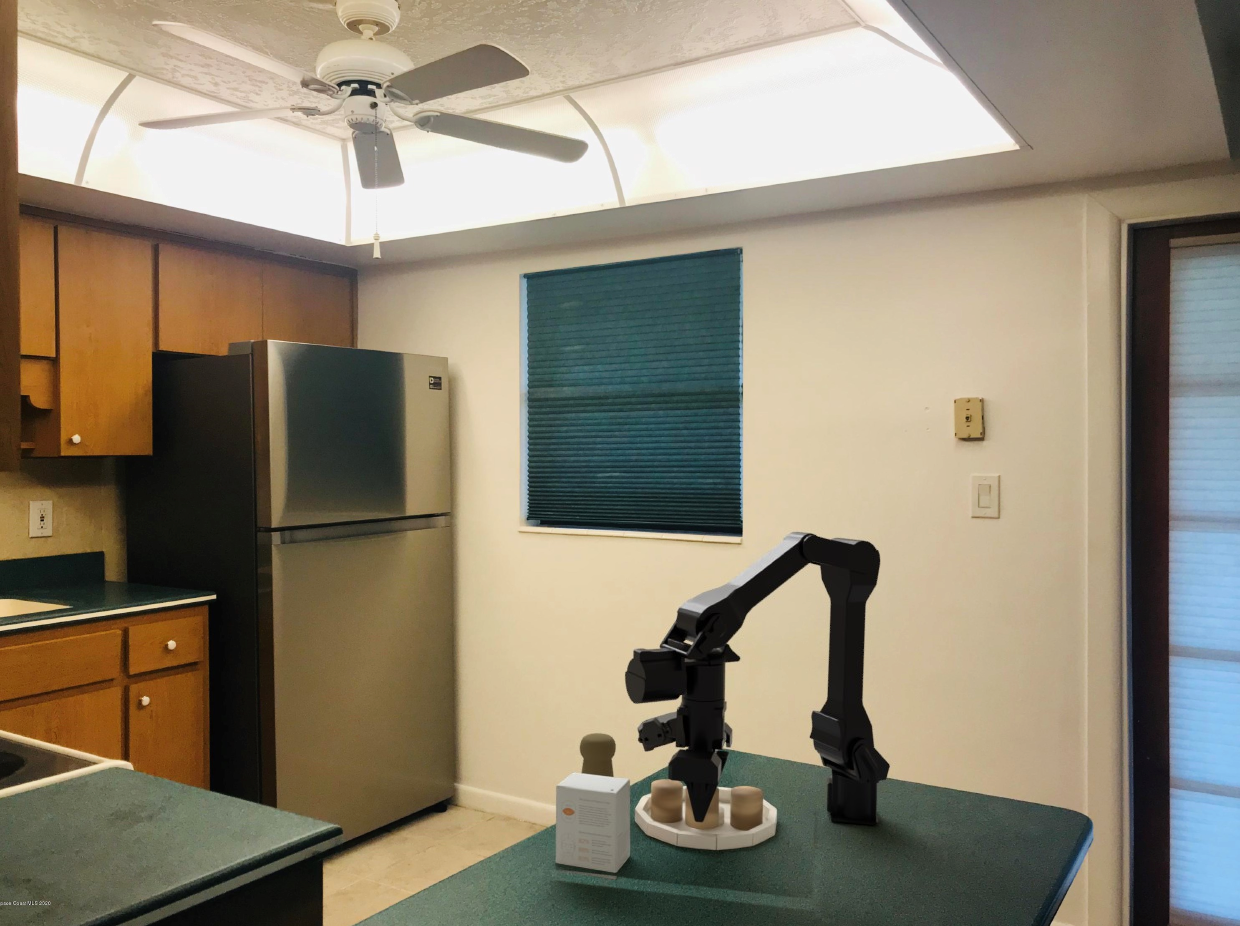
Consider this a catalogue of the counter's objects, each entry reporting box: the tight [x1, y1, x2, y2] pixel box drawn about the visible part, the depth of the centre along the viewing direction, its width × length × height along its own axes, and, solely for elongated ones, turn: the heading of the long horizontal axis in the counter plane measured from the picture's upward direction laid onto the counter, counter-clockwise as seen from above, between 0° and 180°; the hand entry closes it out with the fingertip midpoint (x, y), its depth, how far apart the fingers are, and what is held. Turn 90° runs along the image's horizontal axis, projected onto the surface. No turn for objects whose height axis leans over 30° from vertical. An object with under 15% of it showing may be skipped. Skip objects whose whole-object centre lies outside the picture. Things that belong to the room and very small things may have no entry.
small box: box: [555, 772, 631, 881], centre depth 113 cm, size 8×6×10 cm
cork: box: [579, 732, 617, 777], centre depth 132 cm, size 6×6×11 cm
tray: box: [634, 785, 778, 851], centre depth 126 cm, size 19×19×3 cm
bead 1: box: [650, 778, 684, 823], centre depth 127 cm, size 4×4×4 cm
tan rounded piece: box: [730, 785, 764, 831], centre depth 125 cm, size 4×4×4 cm
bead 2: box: [685, 786, 719, 830], centre depth 121 cm, size 4×4×4 cm
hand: (701, 815), depth 121 cm, fingers closed on bead 2, 4 cm apart
